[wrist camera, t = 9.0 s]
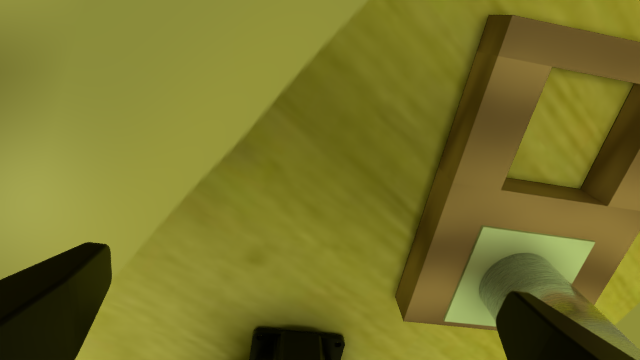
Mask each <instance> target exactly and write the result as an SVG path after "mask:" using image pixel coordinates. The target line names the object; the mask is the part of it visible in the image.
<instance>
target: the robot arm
mask: <svg viewBox="0 0 640 360" xmlns="http://www.w3.org/2000/svg"><path fill="white" fill-rule="evenodd" d="M111 279H112V270H111V252H110V248H109V246H108V245H106V244H100V243H92V242H87V243H84V244H81V245H79V246H77V247H74V248H72V249H70V250H68V251H65V252H63V253H61V254H58V255H56V256H54V257H52V258H49V259H47V260H45V261H42V262H40V263H38V264H35V265H34V266H31V267H29V268H26V269H24V270H22V271H19V272H17V273H15V274H13V275H10V276H8V277H6V278H3V279H1V280H0V360H75V358H76V357H77V355H78V353H79V351H80V349H81V347H82V345H83V343H84V340H85V338H86V336H87V334H88V332H89V330H90V328H91V326H92V323H93V321H94V319H95V317H96V315H97V313H98V311H99V309H100V306H101V304H102V302H103V300H104V298H105V296H106V294H107V292H108V289H109V287H110V284H111ZM496 328H497V331H498V334H499V337H500V339H501V342H502V345H503V348H504V351H505V354H506V357H507V360H636V359H634V358H633V357H631V356H629V355H628V354H626V353H625V352H623V351H621V350H620V349H618V348H617V347H615V346H613V345H612V344H610V343H609V342H607V341H605V340H604V339H602V338H601V337H599V336H597V335H596V334H594V333H593V332H591V331H589V330H588V329H586V328H585V327H583V326H581V325H580V324H578V323H577V322H575V321H574V320H572V319H570V318H569V317H567V316H566V315H564V314H562V313H561V312H559V311H558V310H556V309H554V308H553V307H551V306H550V305H548V304H546V303H545V302H543V301H542V300H540V299H538V298H537V297H535V296H534V295H532V294H530V293H528V292H522V291H510V292H509V293H508V294H507V295H506V297H505V299H504V301H503V303H502V305H501V307H500V310H499V312H498V314H497V316H496ZM259 335H262V336H259ZM336 342H339V343H336ZM344 346H345V342H344V338H343V337H342V336H341V335H333V334H322V333H312V332H301V331H290V330H279V329H269V328H257V329H255V330H254V332H253V338H252V345H251V352H250V359H249V360H341V356H342V353H343V349H344Z"/></svg>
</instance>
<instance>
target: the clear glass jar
mask: <svg viewBox="0 0 640 360" xmlns="http://www.w3.org/2000/svg"><path fill="white" fill-rule="evenodd" d="M510 291H522V292H528V293H530V294H532V295H534V296H535V297H537V298H538V299H540V300H542V301H543V302H545V303H546V304H548V305H550V306H551V307H553V308H554V309H556V310H558V311H559V312H561V313H562V314H564V315H566V316H567V317H569V318H570V319H572V320H574V321H575V322H577V323H578V324H580V325H581V326H583V327H585V328H586V329H588V330H589V331H591V332H593V333H594V334H596V335H597V336H599V337H601V338H602V339H604V340H605V341H607V342H609V343H610V344H612V345H613V346H615V347H617V348H618V349H620V350H621V351H623V352H625V353H626V354H628V355H629V356H631V357H633V358H634V359H636V360H640V350H639V349H638V348H637V347H636V346H635V345H634V344H633V343H632V342H631V341H629V339H628V338H627V337H626V336H625V335H624V334H623V333H621V332H620V331H619V330H618V329H617V328H616V327H615V326H614V325H613V324H612V323H611V322H610V321H609V320H608V319H607V318H606V317H605V316H604V315H603V314H602V313H601V312H600V311H599V310H598V309H597V308H596V307H595V306H594V305H593V304H592V303H591V302H590V301H589V300H587V299H586V298H585V297H584V296H583V295H582V294H581V293H580V292H579V291H578V290H577V289H576V288H575V287H574V286H573V285H572V284H571V283H570V282H569V281H568V280H567V279H566V278H565V277H564V276H563V275H562V274H561V273H560V272H559V271H558V270H557V269H555V268H554V267H553V266H552V265H551V264H550V263H549V262H548V261H547V260H546V259H545V258H543V257H542V256H539V255H537V254H533V253H517V254H513V255H510V256H507V257H505V258H503V259H501V260H499V261H497V262H496V263H495V264H493V265H492V266H491V267H490V268H489V269H488V270H487V271H486V273H485V274H484V276H483V278H482V280H481V282H480V287H479V294H480V298H481V300H482V302H483V303H484V305H485V306H486V308H487V309H488V311H489V313H490V314H491V316H492V317H493V319H494V320H495V322H496V316H497V314H498V312H499V310H500V307H501V305H502V303H503V301H504V299H505V297H506V295H507V294H508V293H509V292H510Z"/></svg>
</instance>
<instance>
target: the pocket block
mask: <svg viewBox="0 0 640 360" xmlns="http://www.w3.org/2000/svg"><path fill="white" fill-rule="evenodd" d="M552 67H556V68H561V69H566V70H571V71H576V72H581V73H586V74H592V75H597V76H602V77H607V78H612V79H617V80H622V81H627V82H632V83H635V84H634V86H633V88H632V90H631V92H630V94H629V96H628V98H627V100H626V101H625V103H624V105H623V107H622V109H621V111H620V113H619V115H618V117H617V119H616V121H615V123H614V125H613V127H612V129H611V131H610V133H609V135H608V137H607V139H606V141H605V142H604V144H603V146H602V148H601V150H600V152H599V154H598V156H597V158H596V160H595V162H594V164H593V166H592V168H591V170H590V172H589V174H588V176H587V178H586V180H585V181H584V183H583V185H582V187H581V189H576V188H569V187H563V186H557V185H550V184H544V183H537V182H531V181H524V180H518V179H511V178H506V176H507V174H508V172H509V169H510V167H511V164H512V162H513V160H514V157H515V155H516V152H517V150H518V148H519V145H520V143H521V140H522V138H523V136H524V133H525V131H526V128H527V126H528V124H529V121H530V119H531V116H532V114H533V112H534V109H535V107H536V104H537V102H538V100H539V97H540V95H541V92H542V90H543V88H544V85H545V83H546V80H547V78H548V76H549V73H550V71H551V68H552ZM639 231H640V42H637V41H632V40H627V39H623V38H618V37H613V36H609V35H604V34H599V33H595V32H590V31H585V30H580V29H576V28H571V27H566V26H562V25H557V24H552V23H548V22H543V21H538V20H533V19H529V18H524V17H519V16H515V15H489V17H488V20H487V23H486V26H485V29H484V32H483V35H482V38H481V41H480V44H479V47H478V50H477V53H476V56H475V59H474V62H473V65H472V68H471V71H470V74H469V77H468V80H467V83H466V86H465V89H464V92H463V95H462V98H461V101H460V104H459V107H458V110H457V113H456V116H455V119H454V122H453V125H452V128H451V131H450V134H449V137H448V140H447V143H446V146H445V149H444V152H443V155H442V158H441V161H440V164H439V167H438V170H437V173H436V176H435V179H434V182H433V185H432V188H431V191H430V194H429V197H428V200H427V203H426V206H425V209H424V212H423V215H422V218H421V221H420V224H419V227H418V230H417V233H416V236H415V239H414V242H413V245H412V248H411V251H410V254H409V257H408V260H407V263H406V266H405V269H404V272H403V275H402V278H401V281H400V284H399V287H398V290H397V293H396V296H395V298H396V301H397V303H398V306H399V309H400V312H401V315H402V318H403V321H407V322H417V323H427V324H437V325H447V326H457V327H468V328H478V329H488V330H497V328H496V322H495V320H494V319H493V317H492V316H491V314H490V313H489V311H488V309H487V308H486V306H485V305H484V303H483V302H482V300H481V298H480V294H479V287H480V282H481V280H482V278H483V276H484V274H485V273H486V271H487V270H488V269H489V268H490V267H491V266H492V265H493V264H495V263H496V262H497V261H499V260H501V259H503V258H505V257H507V256H510V255H513V254H517V253H533V254H537V255H539V256H542V257H543V258H545V259H546V260H547V261H548V262H549V263H550V264H551V265H552V266H553V267H554V268H555V269H557V270H558V271H559V272H560V273H561V274H562V275H563V276H564V277H565V278H566V279H567V280H568V281H569V282H570V283H571V284H572V285H573V286H574V287H575V288H576V289H577V290H578V291H579V292H580V293H581V294H582V295H583V296H584V297H585V298H586V299H587V300H589V301H590V302H591V303H592V304H593V305H594V304H595V303H596V301H597V299H598V298H599V296H600V295H601V293H602V291H603V290H604V288H605V286H606V285H607V283H608V282H609V280H610V278H611V277H612V275H613V273H614V272H615V270H616V269H617V267H618V265H619V264H620V262H621V260H622V259H623V257H624V256H625V254H626V252H627V251H628V249H629V247H630V246H631V244H632V242H633V241H634V239H635V238H636V236H637V234H638V233H639Z"/></svg>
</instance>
